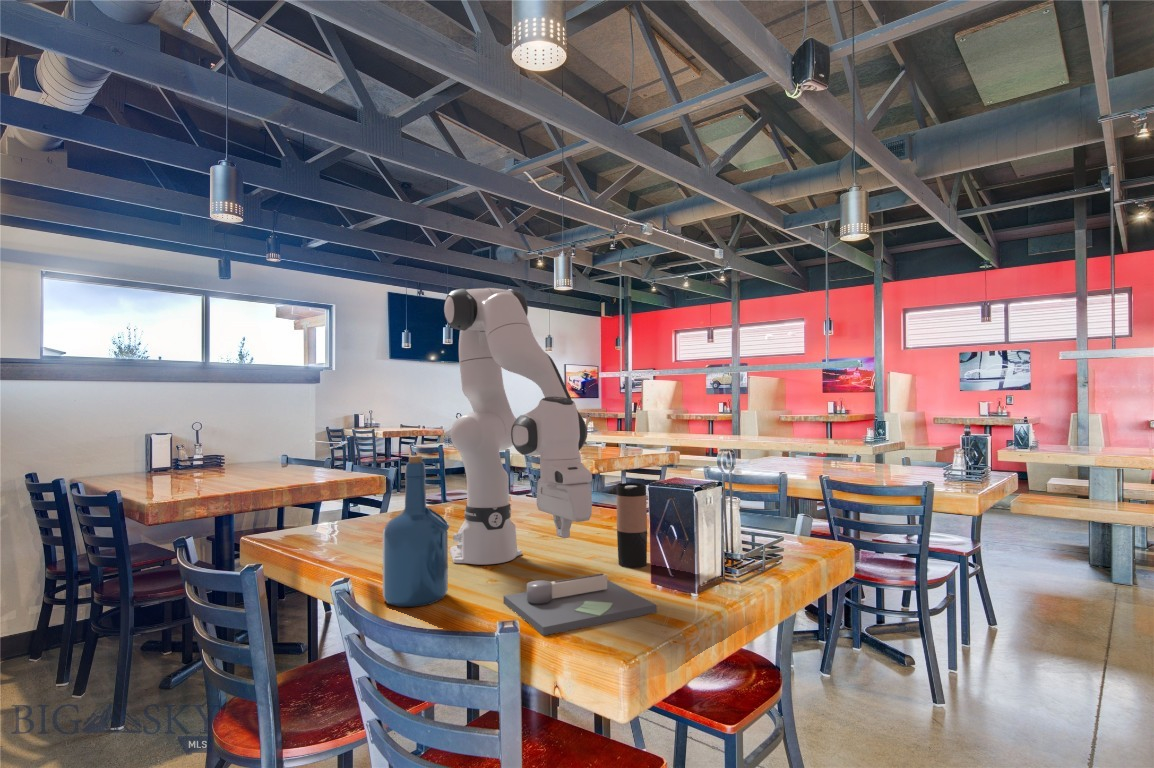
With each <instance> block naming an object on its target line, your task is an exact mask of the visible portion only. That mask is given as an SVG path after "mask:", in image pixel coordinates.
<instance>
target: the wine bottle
mask: <svg viewBox="0 0 1154 768" xmlns="http://www.w3.org/2000/svg"><path fill="white" fill-rule="evenodd" d="M426 478H427V475H426V466H425V462H424V461H423V457H422V456H421V455H410V456H409V457H408V462H407V463H406V465H405V472H404V479H405V486H404V487H405V488H404V489H405V490H404V491H405V492H404V493H405V494H404V509H403V510H402V512H400V513H399V514H398V515H396V516H394V517H392V518H391V519H390V520H389V521H388V522H387V523H386V524H385V525H384V527H383V531H382V596H383V598H384V600H385V602H386V604H388V605H391V606H395V607H400V608H401V607H409V608H410V607H411V608H412V607H413V608H415V607H419V606H420V607H422V606H426V605H431V604H433V603H436V602H438V601H441V600H442V599H444V597H445V596H446V595H447V593H448V591H449V587H448V586H449V584H448V583H449V580H448V578H449V577H448V576H449V575H448V573H449V571H448V570H449V569H448V568H449V565H448V562H449V561H448V553H449V552H448V549H449V547H448V545H449V544H448V543H449V542H448V540H449V539H448V536H449V535H448V533H449V532H448V530H449V529H450V524H449V523H448V522H447V520H446V519H445V518H443V516H442V515H440V514H439V513H438V512H436V511H434V510H433V509H432V508H431V507H429V506H427V496H426V491H427V490H426Z"/></svg>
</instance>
